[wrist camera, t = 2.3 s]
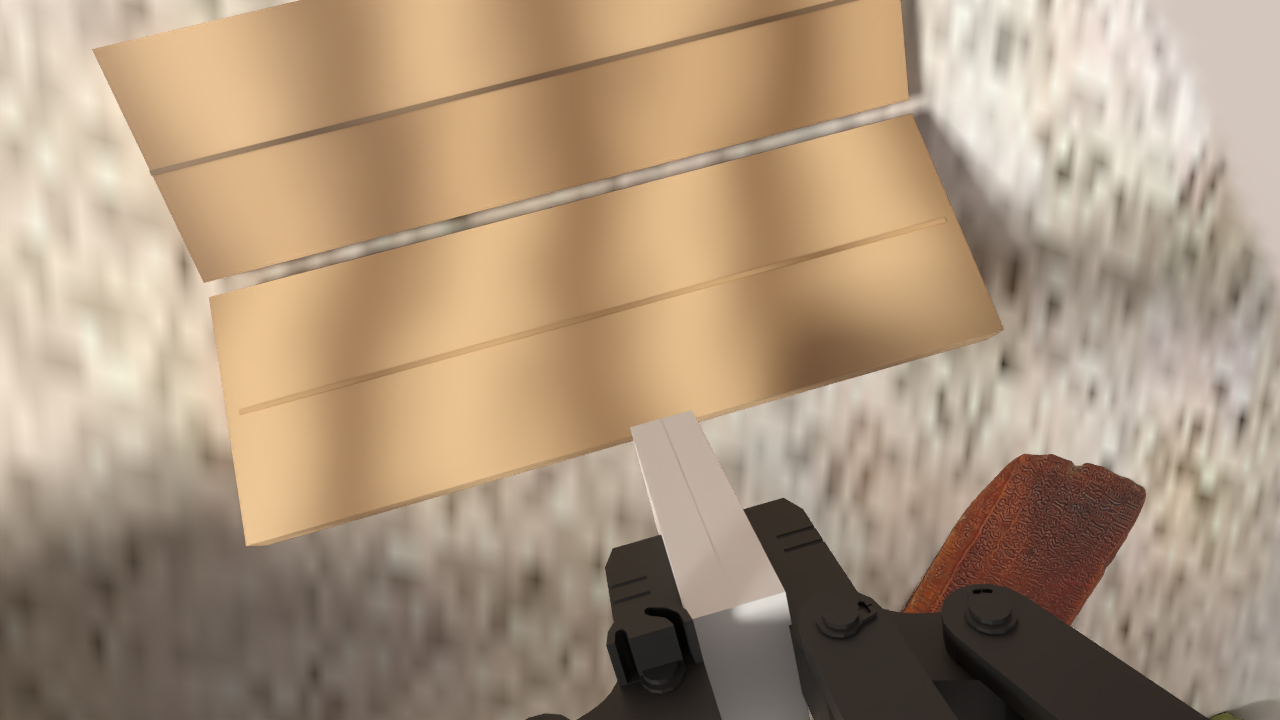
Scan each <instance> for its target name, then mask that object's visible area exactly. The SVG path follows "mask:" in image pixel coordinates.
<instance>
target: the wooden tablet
mask: <svg viewBox="0 0 1280 720" xmlns="http://www.w3.org/2000/svg"><path fill="white" fill-rule="evenodd" d="M1145 497H1146V493H1145V490H1144V489H1143V488H1142V487H1140V486H1137V485H1135V484H1134V483H1133V482H1132V481H1131V480H1129V479H1126V478H1122V477H1119V476H1118V475H1115V474H1114V473H1112V472H1111V471H1109V470H1108V469H1106V468H1104V467H1102V466H1096V465H1094V464H1090V463H1085V464H1083V465H1082V466H1075V465H1074V464H1073V462H1072V461H1069V460H1066V459H1063V458H1061V457H1058V456H1056V455H1053V454H1048V455H1030V454H1023V455H1021V456H1019V457H1018V458H1016V459H1014V460H1013V461H1012V462H1010V463H1009V464H1008V465H1007V466H1006V467H1005V468H1004V469H1003V470H1002V471H1001V472H1000V473H999V475H998V476H996V477H995V479H994V480H993V481H992V482H991V483H990V484H989V485H988V486H987V487H986V488H985V489H984V490H983V491H982V492H981V493H980V494H979V495H978V497H977V498H976V499H975V500H974V501H973V502H972V503H971V504H970V506H969V507H968V508H967V509H966V511H965V512H964V513H963V515H962V516H961V518H960V519H959V521H958V522H957V524H956V525H955V527H954V528H953V530H952V532H951V533H950V535H949V537H948V538H947V540H946V542H945V543H944V545H943V547H942V549H941V550H940V552H939V554H938V555H937V557H936V558H935V560H934V562H933V564H932V566H931V567H930V569H929V570H928V572H927V573H926V575H925V576H924V578H923V580H922V582H921V583H920V585H919V586H918V588H917V589H916V591H915V593H914V595H913V596H912V598H911V599H910V601H909V603H908V605H907V606H906V608H905V609H904V611H903V613H937V612H941V608H942V605H943V603H944V600H945V598H946V597H947V596H948V595H950V594H951V593H952V592H953V591H954V590H956V589H959V588H962V587H965V586H968V585H971V584H993V585H998V586H1003V587H1008V588H1010V589H1012V590H1014V591H1016V592H1018V593H1020V594H1022V595H1024V596H1026V597H1027V598H1029V599H1030V600H1032V601H1033V602H1035V603H1036V604H1038V605H1039V606H1041V607H1042V608H1044V609H1045V610H1047V611H1048V612H1050V613H1051V614H1053V615H1054V616H1056V617H1057V618H1059V619H1060V620H1062V621H1063V622H1065V623H1066V624H1068V625H1069V626H1070V625H1071V624H1072V622H1073V620H1074V619H1075V617H1076V616H1077V615H1078V613H1079V612H1080V610H1081V609H1082V607H1083V605H1084V604H1085V602H1086V600H1087V599H1088V597H1089V596H1090V595H1091V593H1092V592H1093V590H1094V588H1095V587H1096V585H1097V584H1098V583H1099V581H1100V580H1101V578H1102V576H1103V575H1104V572H1105V569H1106V567H1107V566H1108V565H1109V564H1110V563H1111V562H1112V560H1113V559H1114V557H1115V555H1116V553H1117V552H1118V550H1119V549H1120V547H1121V545H1122V544H1123V542H1124V541H1125V540H1126V538H1127V536H1128V533H1129V532H1130V530H1131V528H1132V527H1133V526H1134V524H1135V522H1136V519H1137V517H1138V516H1139V513H1140V511H1141V509H1142V507H1143V504H1144V501H1145Z"/></svg>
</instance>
